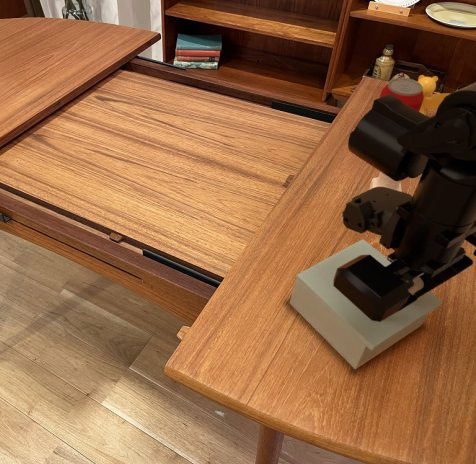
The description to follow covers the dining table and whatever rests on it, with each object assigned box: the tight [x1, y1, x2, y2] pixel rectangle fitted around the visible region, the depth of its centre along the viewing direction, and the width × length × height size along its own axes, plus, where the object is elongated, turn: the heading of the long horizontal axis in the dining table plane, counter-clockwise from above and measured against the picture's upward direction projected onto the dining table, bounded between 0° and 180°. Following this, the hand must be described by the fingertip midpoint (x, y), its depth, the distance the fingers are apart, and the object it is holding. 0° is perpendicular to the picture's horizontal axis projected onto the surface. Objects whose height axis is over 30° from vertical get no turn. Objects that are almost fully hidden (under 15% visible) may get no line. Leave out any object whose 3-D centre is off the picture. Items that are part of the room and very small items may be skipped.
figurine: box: [416, 74, 452, 116], centre depth 96 cm, size 12×12×9 cm
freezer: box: [289, 278, 428, 370], centre depth 64 cm, size 12×12×5 cm
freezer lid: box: [295, 238, 443, 351], centre depth 60 cm, size 12×12×5 cm
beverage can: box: [378, 77, 424, 112], centre depth 88 cm, size 7×7×12 cm
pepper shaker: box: [368, 171, 403, 192], centre depth 75 cm, size 4×4×10 cm
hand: (395, 306), depth 58 cm, fingers closed on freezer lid, 5 cm apart
